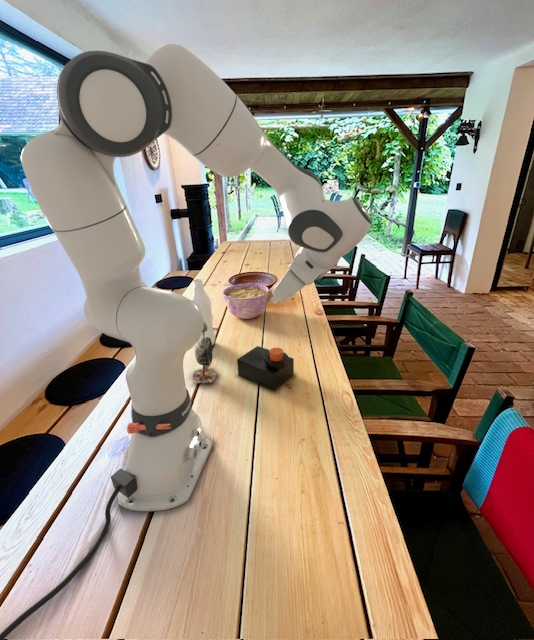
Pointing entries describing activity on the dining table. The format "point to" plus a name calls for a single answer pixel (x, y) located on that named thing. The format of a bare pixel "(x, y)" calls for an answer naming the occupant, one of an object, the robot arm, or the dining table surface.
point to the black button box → (265, 368)
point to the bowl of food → (246, 300)
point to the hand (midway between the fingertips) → (280, 293)
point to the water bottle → (204, 308)
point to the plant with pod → (204, 360)
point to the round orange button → (276, 354)
